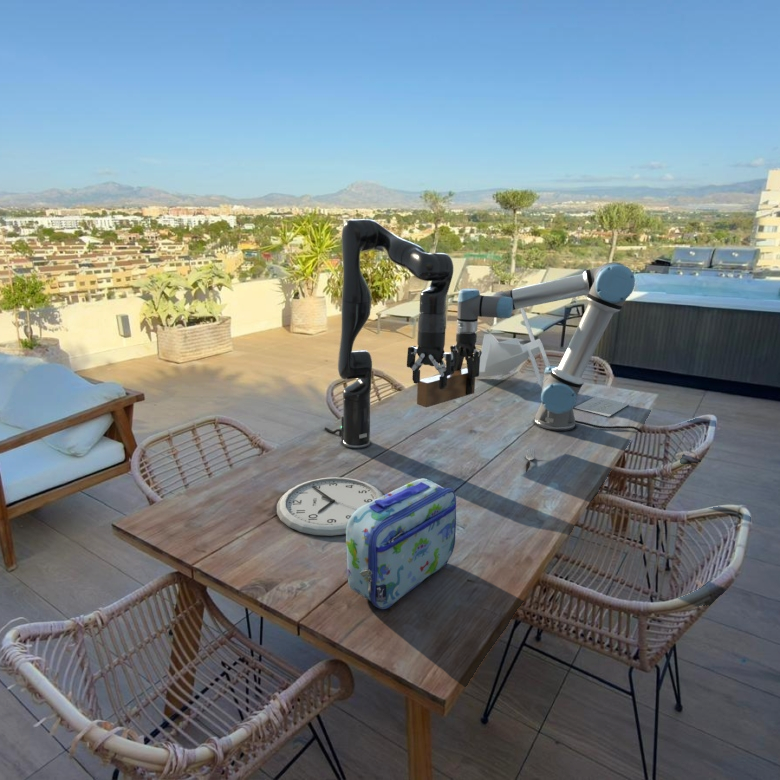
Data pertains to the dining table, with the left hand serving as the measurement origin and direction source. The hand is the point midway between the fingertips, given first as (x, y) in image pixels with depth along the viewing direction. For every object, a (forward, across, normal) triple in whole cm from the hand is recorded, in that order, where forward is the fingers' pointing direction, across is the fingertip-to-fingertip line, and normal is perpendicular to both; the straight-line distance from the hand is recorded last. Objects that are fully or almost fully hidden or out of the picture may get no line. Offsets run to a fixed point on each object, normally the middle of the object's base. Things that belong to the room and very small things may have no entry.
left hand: (429, 385), depth 147 cm
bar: (+18, -18, +40) cm, 48 cm away
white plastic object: (+30, -25, +112) cm, 118 cm away
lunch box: (+30, +21, -41) cm, 55 cm away
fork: (+30, +19, +32) cm, 48 cm away
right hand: (+17, -16, +50) cm, 55 cm away
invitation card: (+30, +21, +107) cm, 113 cm away
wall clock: (+30, -13, -27) cm, 43 cm away
